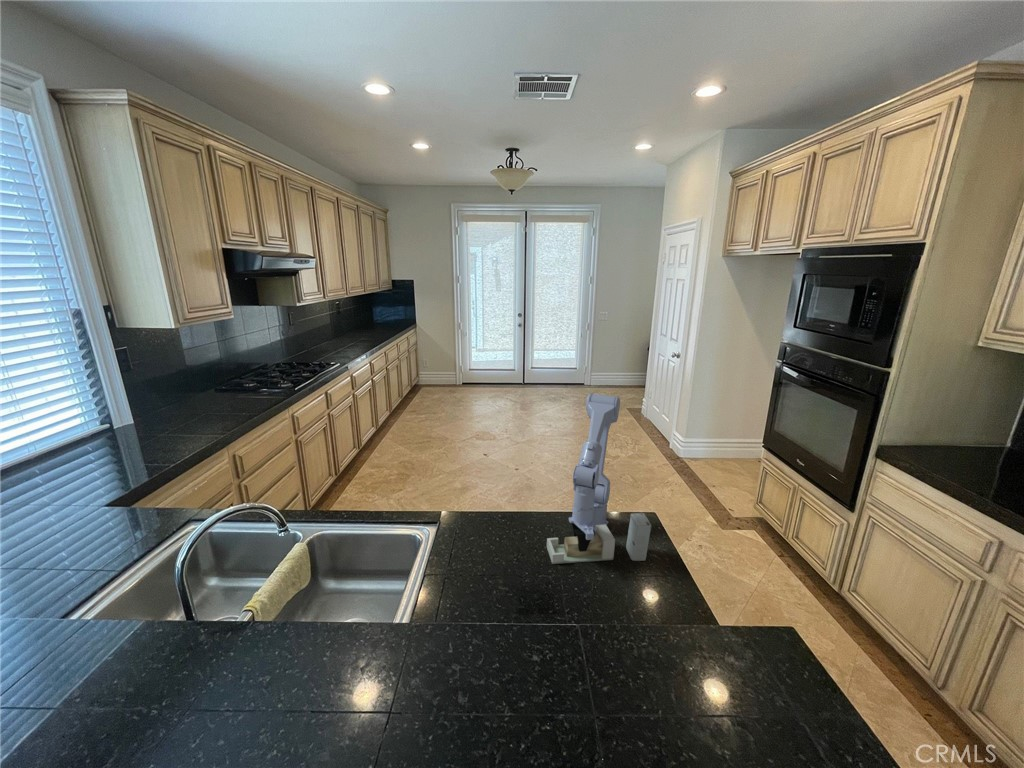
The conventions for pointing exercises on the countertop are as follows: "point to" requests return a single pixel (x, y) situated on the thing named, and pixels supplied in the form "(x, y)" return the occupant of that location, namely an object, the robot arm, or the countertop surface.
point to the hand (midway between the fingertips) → (580, 546)
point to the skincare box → (638, 537)
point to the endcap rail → (560, 556)
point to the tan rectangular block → (592, 549)
